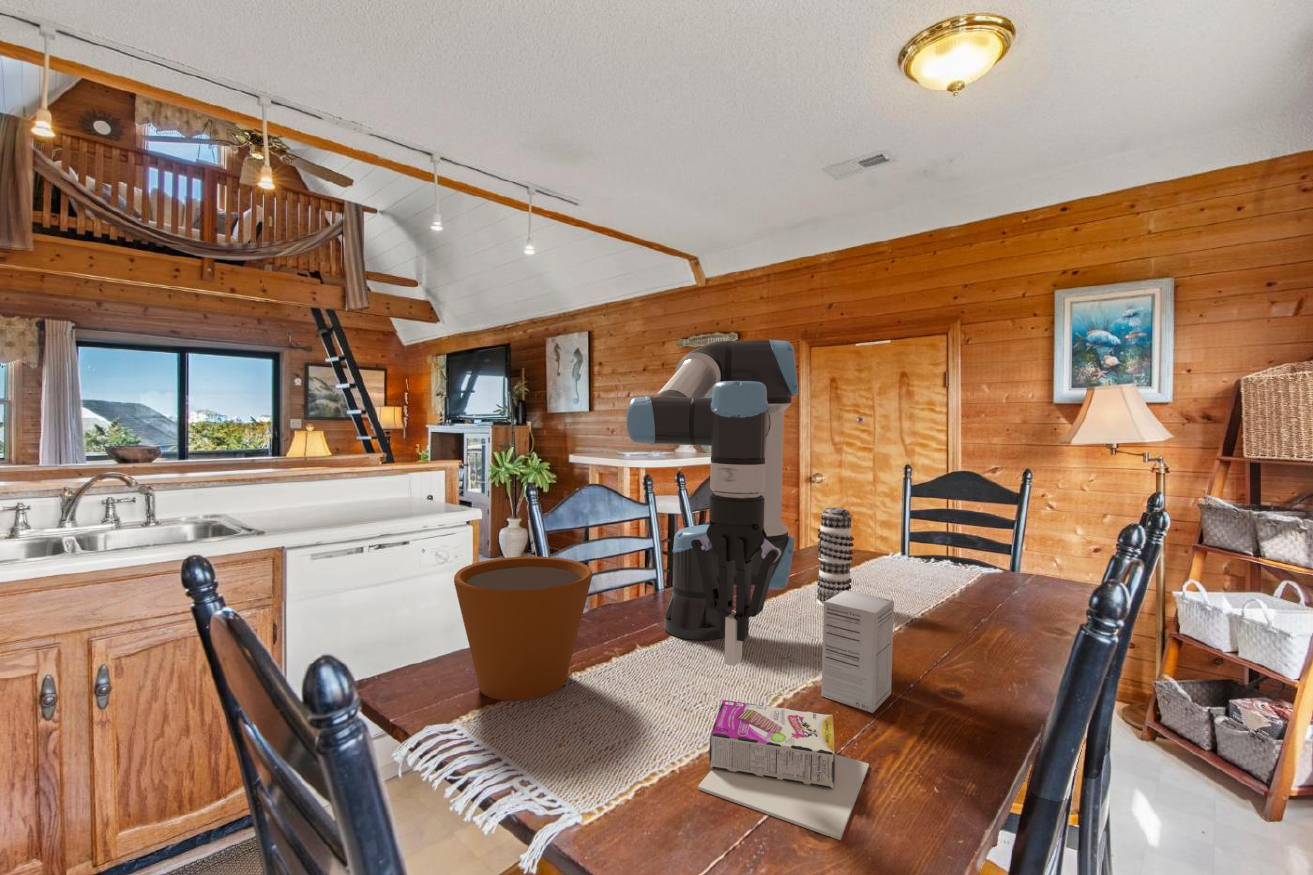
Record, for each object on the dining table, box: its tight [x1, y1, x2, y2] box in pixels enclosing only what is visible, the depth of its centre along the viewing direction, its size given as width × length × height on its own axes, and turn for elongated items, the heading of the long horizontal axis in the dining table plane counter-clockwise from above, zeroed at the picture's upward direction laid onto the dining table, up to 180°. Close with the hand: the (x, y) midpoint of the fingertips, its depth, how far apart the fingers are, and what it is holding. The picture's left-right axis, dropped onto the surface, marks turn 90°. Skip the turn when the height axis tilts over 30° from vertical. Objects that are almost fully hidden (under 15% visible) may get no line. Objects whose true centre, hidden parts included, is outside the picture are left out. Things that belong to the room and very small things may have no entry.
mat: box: [697, 753, 870, 841], centre depth 80 cm, size 18×17×1 cm
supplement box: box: [820, 590, 895, 714], centre depth 104 cm, size 10×9×17 cm
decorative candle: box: [816, 507, 855, 608], centre depth 156 cm, size 9×9×25 cm
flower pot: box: [453, 556, 593, 702], centre depth 107 cm, size 24×24×20 cm
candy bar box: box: [708, 699, 836, 789], centre depth 84 cm, size 11×5×16 cm
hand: (733, 661), depth 84 cm, fingers closed
